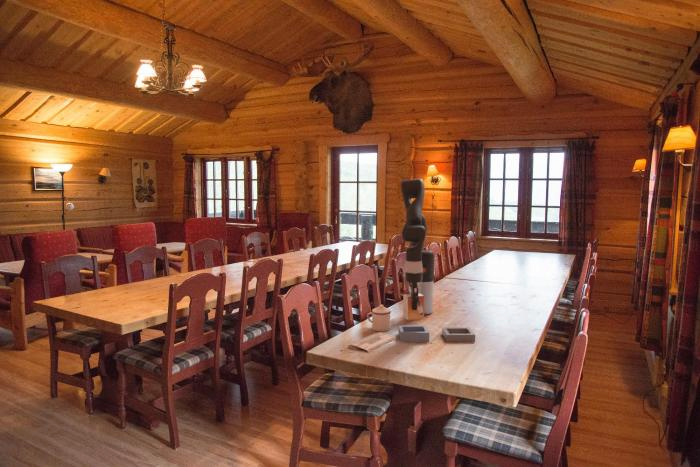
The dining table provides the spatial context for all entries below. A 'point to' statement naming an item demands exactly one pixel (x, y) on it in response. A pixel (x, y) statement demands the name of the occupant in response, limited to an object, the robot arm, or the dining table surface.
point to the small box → (407, 307)
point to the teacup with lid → (380, 318)
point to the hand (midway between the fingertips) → (413, 307)
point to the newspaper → (373, 341)
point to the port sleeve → (414, 333)
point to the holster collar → (458, 334)
